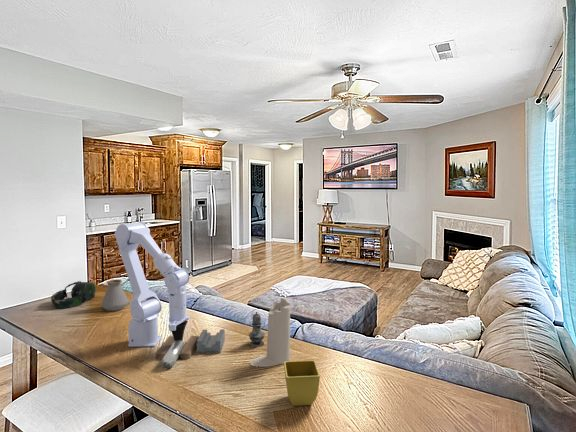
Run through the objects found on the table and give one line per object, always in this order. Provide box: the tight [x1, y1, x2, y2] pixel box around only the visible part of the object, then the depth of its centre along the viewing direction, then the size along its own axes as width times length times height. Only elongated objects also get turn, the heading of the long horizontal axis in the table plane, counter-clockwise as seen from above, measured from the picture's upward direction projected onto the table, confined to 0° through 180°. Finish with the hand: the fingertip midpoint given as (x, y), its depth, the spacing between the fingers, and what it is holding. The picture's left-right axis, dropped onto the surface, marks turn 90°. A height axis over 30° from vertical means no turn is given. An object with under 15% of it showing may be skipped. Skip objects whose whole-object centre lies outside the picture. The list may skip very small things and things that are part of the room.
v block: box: [196, 328, 226, 354], centre depth 129 cm, size 8×10×4 cm
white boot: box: [247, 297, 291, 368], centre depth 118 cm, size 7×14×20 cm, turn 113°
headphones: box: [50, 280, 96, 310], centre depth 177 cm, size 13×13×20 cm
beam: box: [155, 335, 200, 360], centre depth 127 cm, size 11×14×2 cm
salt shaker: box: [248, 311, 266, 348], centre depth 131 cm, size 6×6×12 cm
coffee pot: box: [100, 278, 129, 312], centre depth 173 cm, size 21×12×15 cm, turn 152°
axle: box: [161, 340, 185, 369], centre depth 120 cm, size 12×4×4 cm, turn 1°
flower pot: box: [283, 359, 321, 407], centre depth 97 cm, size 9×9×9 cm
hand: (178, 342), depth 127 cm, fingers closed
